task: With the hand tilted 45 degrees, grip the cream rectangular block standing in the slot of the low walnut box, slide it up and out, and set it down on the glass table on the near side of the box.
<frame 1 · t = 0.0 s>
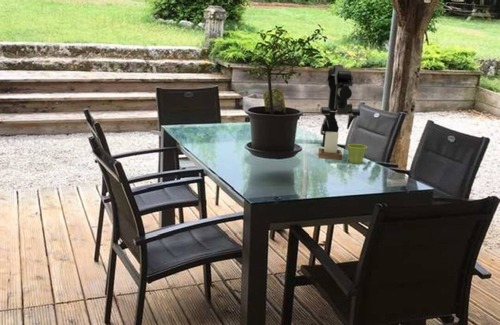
hand: (338, 128, 270), 15 cm above the table, tool pointing down, fingers open, 9 cm apart
box: (329, 157, 273), on the table
plant pot: (355, 164, 264), on the table
cream rectangular block: (329, 156, 273), point 1 cm above the table, touching box
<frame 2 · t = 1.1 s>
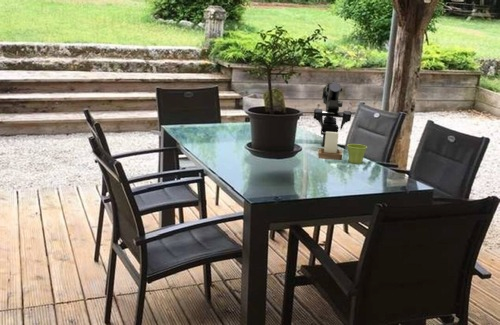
hand: (331, 128, 277), 13 cm above the table, tool tilted 45°, fingers open, 9 cm apart
nothing on the table moved.
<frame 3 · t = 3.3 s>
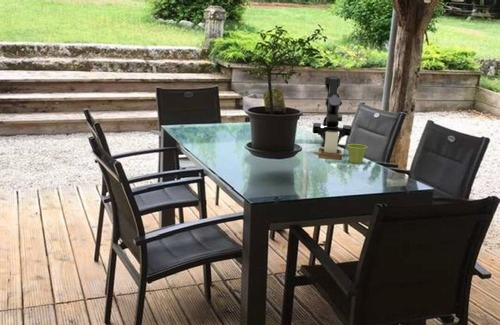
hand: (331, 143, 270), 8 cm above the table, tool tilted 45°, fingers closed on cream rectangular block, 6 cm apart
cream rectangular block: (329, 156, 273), point 1 cm above the table, touching box, gripper
everything else where it was.
when the fingers open (8 cm above the table, at t = 7.2 s): cream rectangular block drops 2 cm, on the table.
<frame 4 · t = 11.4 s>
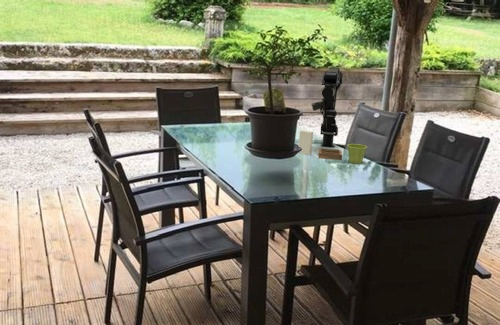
hand: (326, 127, 282), 13 cm above the table, tool pointing down, fingers open, 9 cm apart
cream rectangular block: (304, 154, 277), on the table
everything else where it was.
at the end: cream rectangular block inside the target area (1.5 cm from its centre), on the table; cream rectangular block touching table; the gripper is holding nothing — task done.
